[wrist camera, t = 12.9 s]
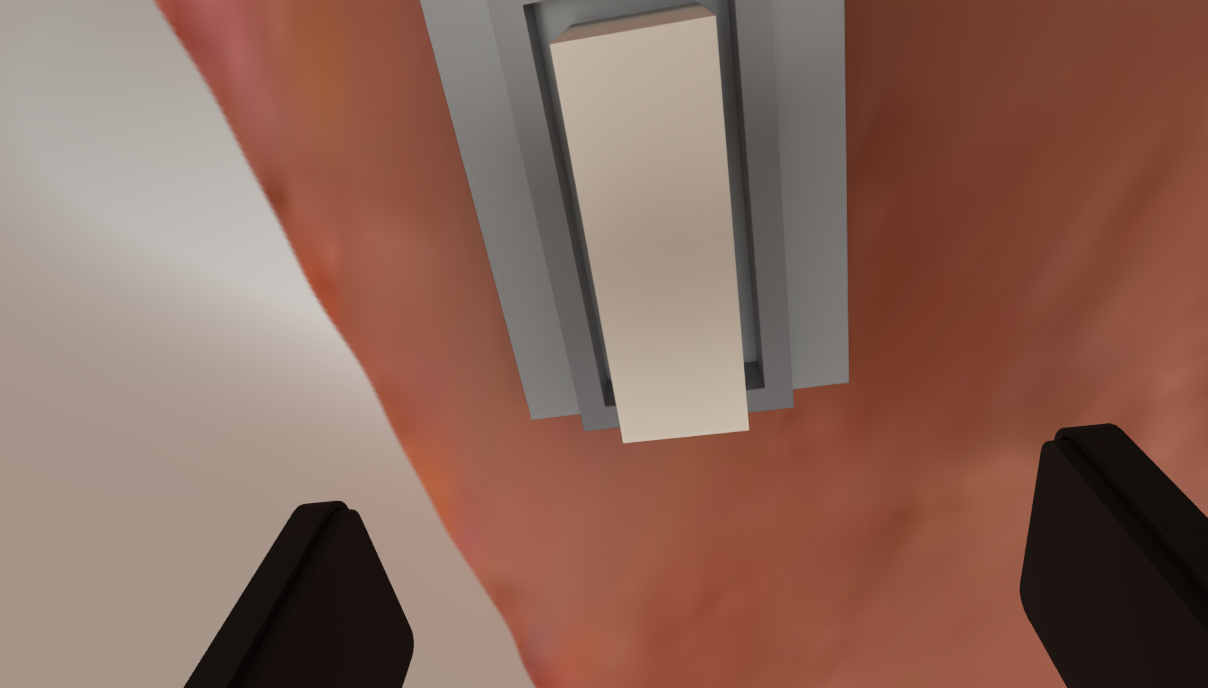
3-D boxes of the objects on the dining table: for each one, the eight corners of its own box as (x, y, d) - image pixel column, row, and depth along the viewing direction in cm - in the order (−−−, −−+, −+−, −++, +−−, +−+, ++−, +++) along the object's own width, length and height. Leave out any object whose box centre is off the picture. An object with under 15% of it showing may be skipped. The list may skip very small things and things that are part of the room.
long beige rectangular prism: (698, 2, 22) (715, 15, 17) (728, 339, 27) (748, 430, 22) (571, 24, 22) (549, 44, 17) (627, 351, 28) (623, 443, 23)
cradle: (834, -115, 21) (861, -126, 18) (842, 369, 29) (862, 410, 26) (420, -32, 23) (391, -30, 20) (535, 406, 31) (524, 448, 28)
